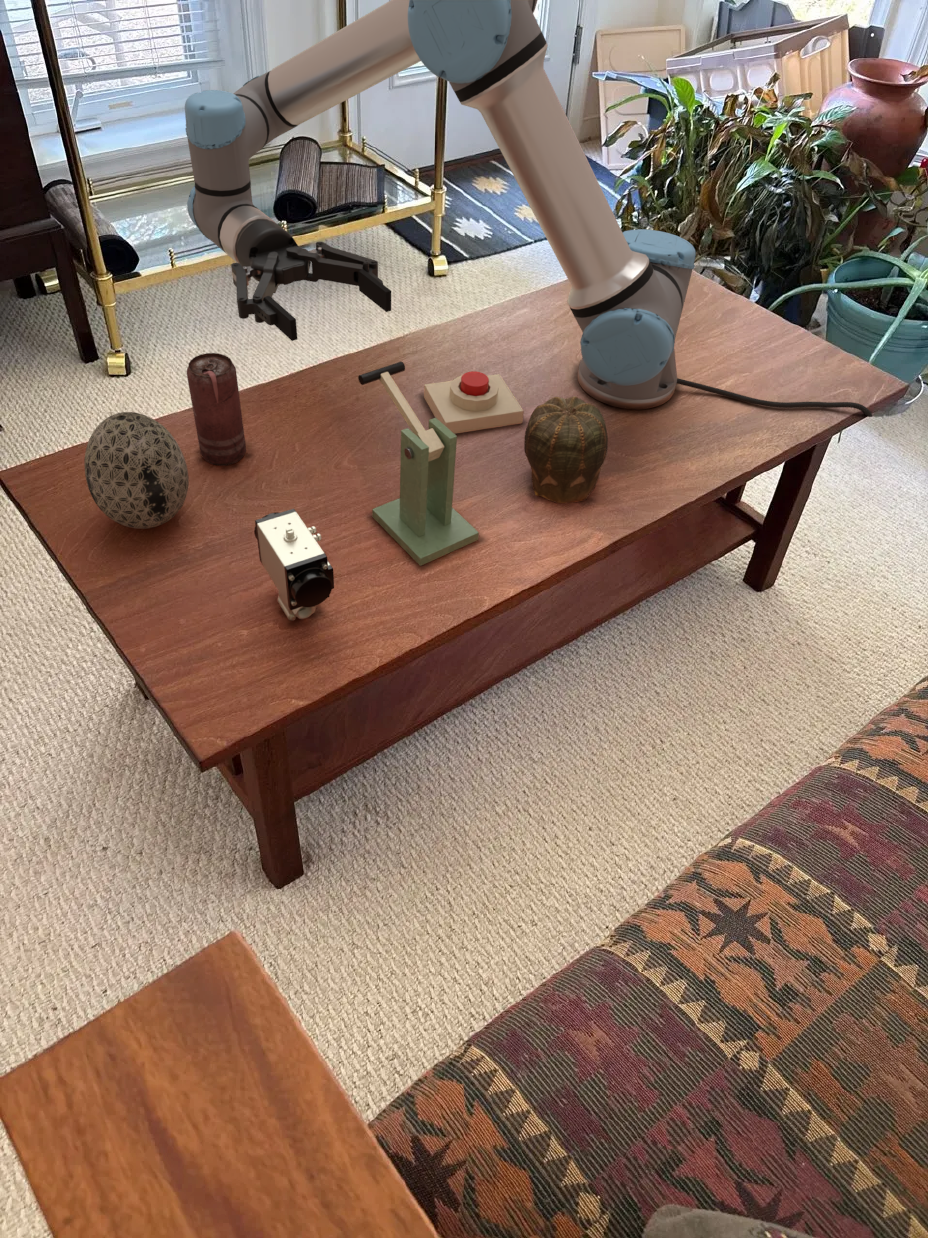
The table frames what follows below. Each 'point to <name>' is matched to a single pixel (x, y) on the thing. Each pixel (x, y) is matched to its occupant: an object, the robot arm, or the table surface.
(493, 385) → the control box
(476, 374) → the button
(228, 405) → the can
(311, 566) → the pneumatic valve
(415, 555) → the bracket
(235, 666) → the table surface
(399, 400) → the lever
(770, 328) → the table surface
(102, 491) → the decorative egg
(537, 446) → the dark green ribbed dome
